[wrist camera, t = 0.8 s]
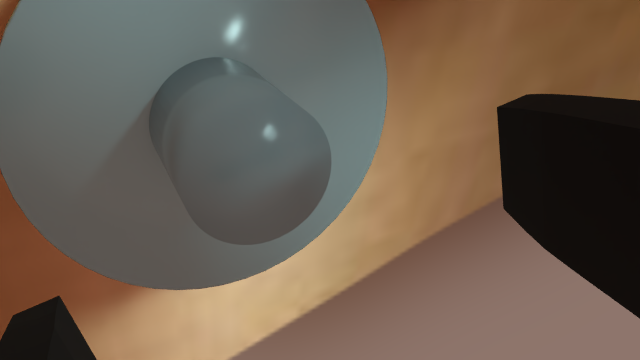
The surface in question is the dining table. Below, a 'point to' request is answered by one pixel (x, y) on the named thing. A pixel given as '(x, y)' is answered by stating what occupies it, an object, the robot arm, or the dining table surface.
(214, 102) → the lid
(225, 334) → the dining table surface
